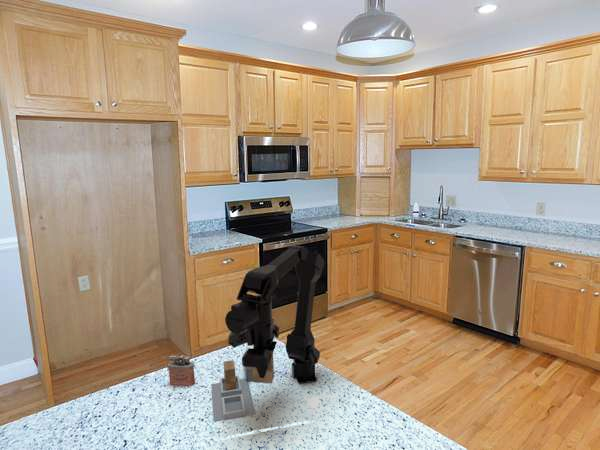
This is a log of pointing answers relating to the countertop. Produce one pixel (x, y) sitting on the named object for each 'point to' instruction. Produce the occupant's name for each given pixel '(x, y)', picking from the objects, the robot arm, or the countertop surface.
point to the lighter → (181, 371)
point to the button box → (248, 373)
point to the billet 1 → (229, 375)
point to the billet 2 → (268, 375)
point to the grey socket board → (231, 400)
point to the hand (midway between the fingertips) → (263, 374)
